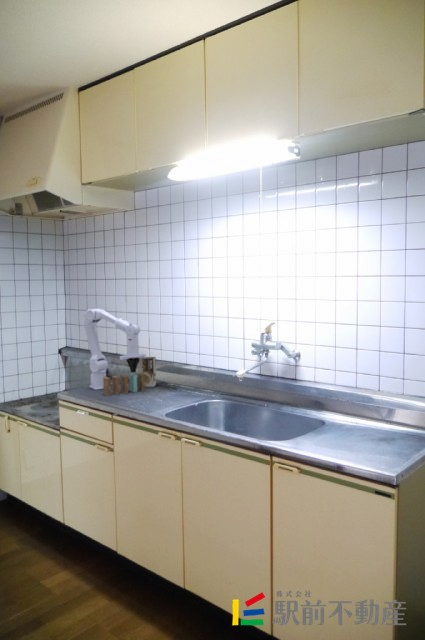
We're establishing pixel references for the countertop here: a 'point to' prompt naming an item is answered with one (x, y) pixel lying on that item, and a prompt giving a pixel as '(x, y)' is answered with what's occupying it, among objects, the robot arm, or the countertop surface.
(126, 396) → the countertop surface
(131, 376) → the domino
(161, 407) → the countertop surface
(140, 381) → the domino
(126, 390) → the domino
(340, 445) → the countertop surface
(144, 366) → the coffee box
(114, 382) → the domino
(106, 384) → the domino
